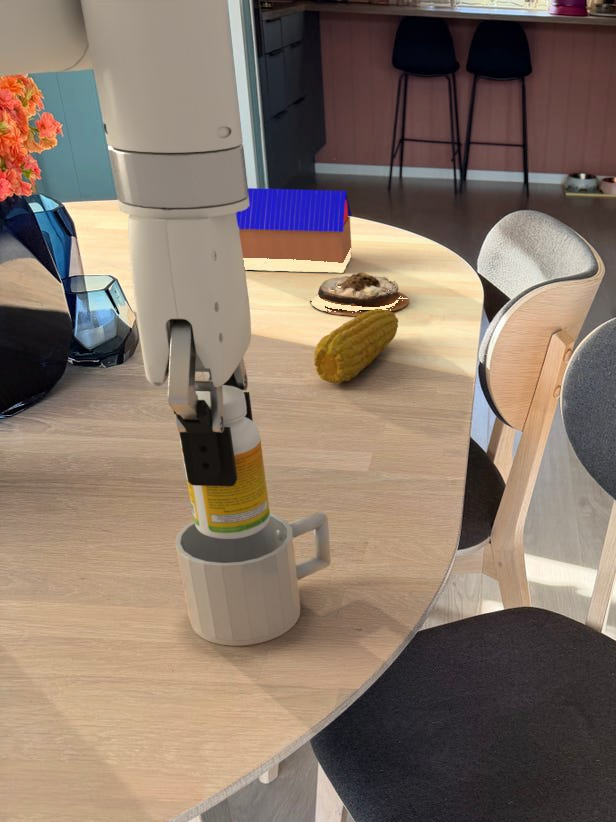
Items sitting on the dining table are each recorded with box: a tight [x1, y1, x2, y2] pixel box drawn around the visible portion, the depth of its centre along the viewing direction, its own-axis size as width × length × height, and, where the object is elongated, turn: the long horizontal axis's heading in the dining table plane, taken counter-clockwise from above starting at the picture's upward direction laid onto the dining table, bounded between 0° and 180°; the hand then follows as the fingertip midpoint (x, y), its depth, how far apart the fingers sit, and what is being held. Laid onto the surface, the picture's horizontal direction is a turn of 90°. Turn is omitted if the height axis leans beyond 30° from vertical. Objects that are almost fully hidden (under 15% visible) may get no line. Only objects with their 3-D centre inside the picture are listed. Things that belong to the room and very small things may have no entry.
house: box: [236, 187, 353, 263], centre depth 156 cm, size 12×20×12 cm, turn 89°
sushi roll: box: [309, 271, 410, 317], centre depth 141 cm, size 15×15×4 cm
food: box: [313, 309, 399, 384], centre depth 118 cm, size 21×6×6 cm, turn 166°
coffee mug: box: [174, 511, 332, 647], centre depth 72 cm, size 12×8×7 cm
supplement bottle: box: [179, 385, 271, 539], centre depth 65 cm, size 5×5×10 cm
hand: (223, 461), depth 65 cm, fingers closed on supplement bottle, 5 cm apart
